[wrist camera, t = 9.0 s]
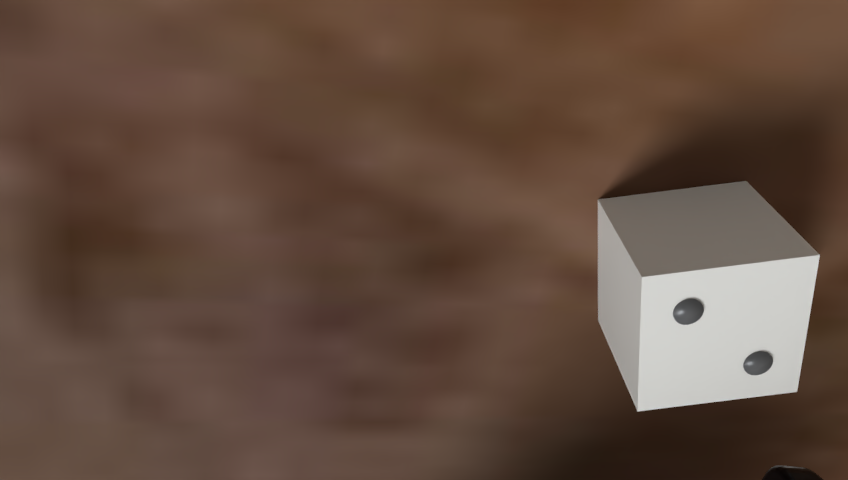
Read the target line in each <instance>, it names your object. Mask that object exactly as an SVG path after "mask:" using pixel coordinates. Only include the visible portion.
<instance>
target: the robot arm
mask: <svg viewBox="0 0 848 480" xmlns="http://www.w3.org/2000/svg"><path fill="white" fill-rule="evenodd" d="M762 480H823V479H822V478H821V477H820V476H819V475H817V474H816V473H815V472H813V471H812V470H810V469H807V468H803V467H792V466H774V467H772V468H770V469H769V470H768V471H767V472H766V474H765V476H764V477H763V479H762Z"/></svg>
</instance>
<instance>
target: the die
mask: <svg viewBox="0 0 848 480" xmlns="http://www.w3.org/2000/svg"><path fill="white" fill-rule="evenodd" d="M819 257H820V255H819V254H818V253H817V252H816V251H815V250H814V249H813V248H812V247H811V246H810V245H809V243H808V242H807V241H806V240H805V239H804V238H803V237H802V236H801V235H800V234H799V233H798V232H797V231H796V230H795V229H794V228H793V227H792V226H791V225H790V224H789V223H788V222H787V221H786V220H785V219H784V218H783V217H782V216H781V215H780V214H779V213H778V212H777V211H776V210H775V209H774V208H773V207H772V206H771V205H770V204H769V203H768V202H767V201H766V200H765V199H764V198H763V197H762V196H761V195H760V194H759V193H758V192H757V191H756V190H755V189H754V188H753V187H752V186H751V185H750V184H749V183H748V182H747V181H741V182H733V183H725V184H717V185H709V186H701V187H693V188H685V189H677V190H669V191H661V192H653V193H645V194H637V195H629V196H621V197H613V198H605V199H598V321H599V324H600V326H601V328H602V331H603V333H604V335H605V338H606V340H607V342H608V344H609V347H610V349H611V351H612V354H613V356H614V358H615V361H616V363H617V365H618V368H619V370H620V372H621V375H622V377H623V379H624V381H625V384H626V386H627V388H628V391H629V393H630V395H631V398H632V400H633V402H634V405H635V407H636V409H637V412H638V411H646V410H654V409H662V408H670V407H678V406H686V405H695V404H703V403H711V402H719V401H727V400H735V399H743V398H751V397H759V396H768V395H776V394H784V393H792V392H797V390H798V384H799V378H800V371H801V365H802V359H803V353H804V347H805V341H806V335H807V329H808V323H809V317H810V311H811V305H812V299H813V293H814V287H815V281H816V275H817V269H818V263H819Z"/></svg>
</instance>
